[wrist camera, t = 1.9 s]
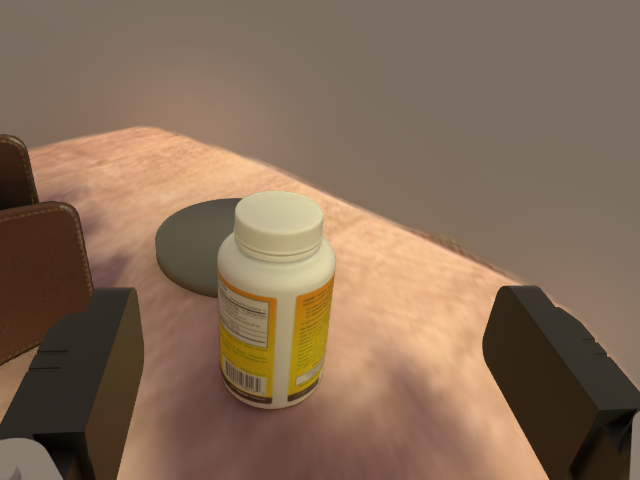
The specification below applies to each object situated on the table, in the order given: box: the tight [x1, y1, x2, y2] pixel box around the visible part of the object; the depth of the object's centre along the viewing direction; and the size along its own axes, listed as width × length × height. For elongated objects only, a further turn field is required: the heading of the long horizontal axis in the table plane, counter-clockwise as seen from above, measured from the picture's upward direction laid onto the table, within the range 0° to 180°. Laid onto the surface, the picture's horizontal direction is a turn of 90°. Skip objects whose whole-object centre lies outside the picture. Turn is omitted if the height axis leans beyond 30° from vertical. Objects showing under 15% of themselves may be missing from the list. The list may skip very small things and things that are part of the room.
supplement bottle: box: [217, 191, 336, 409], centre depth 25 cm, size 6×6×10 cm
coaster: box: [155, 198, 243, 298], centre depth 38 cm, size 12×12×1 cm
